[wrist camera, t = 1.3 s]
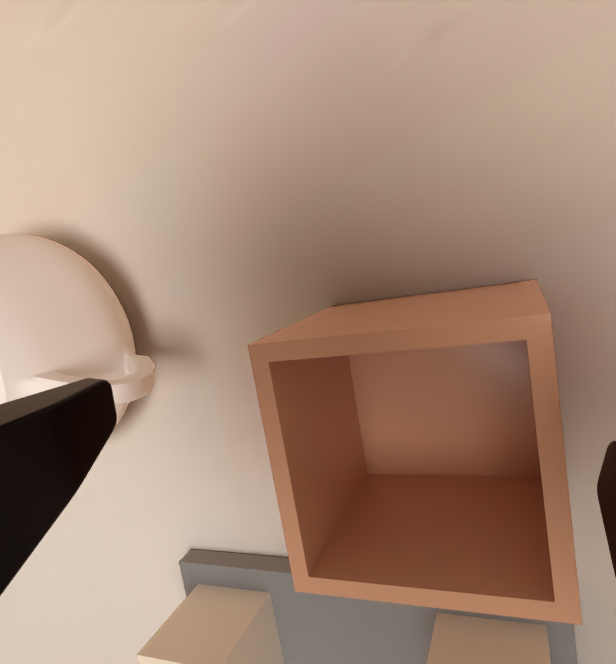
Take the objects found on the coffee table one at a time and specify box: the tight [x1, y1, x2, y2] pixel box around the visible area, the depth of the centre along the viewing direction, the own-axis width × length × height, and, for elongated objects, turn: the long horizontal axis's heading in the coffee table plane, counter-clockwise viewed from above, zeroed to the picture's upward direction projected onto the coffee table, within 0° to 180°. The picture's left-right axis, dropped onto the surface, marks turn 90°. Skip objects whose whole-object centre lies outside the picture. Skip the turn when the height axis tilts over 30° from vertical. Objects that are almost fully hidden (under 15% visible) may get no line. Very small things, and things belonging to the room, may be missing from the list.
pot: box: [248, 280, 582, 625], centre depth 18 cm, size 8×8×8 cm
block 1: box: [137, 584, 284, 664], centre depth 25 cm, size 4×4×5 cm
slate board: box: [179, 549, 577, 664], centre depth 25 cm, size 7×20×1 cm, turn 101°
